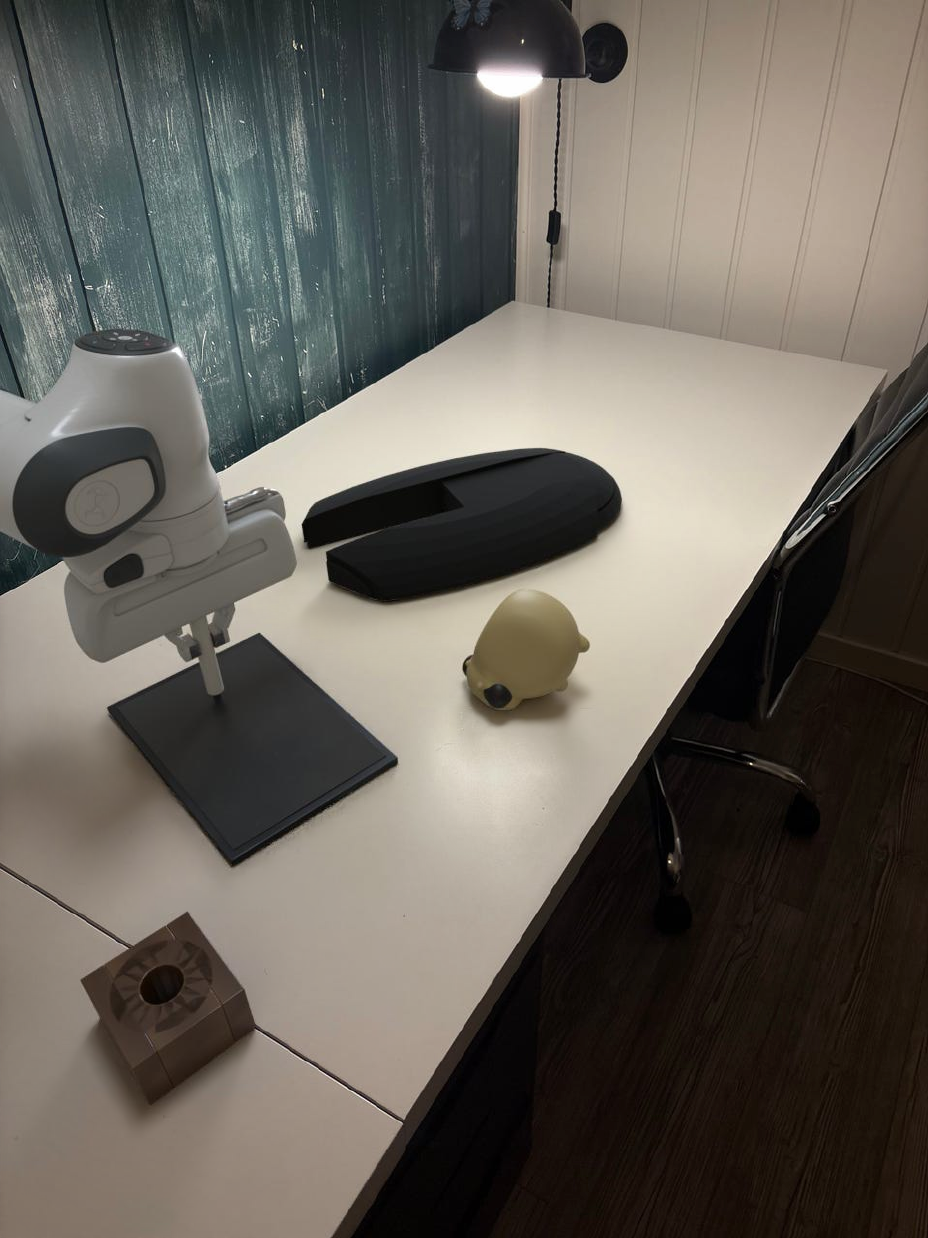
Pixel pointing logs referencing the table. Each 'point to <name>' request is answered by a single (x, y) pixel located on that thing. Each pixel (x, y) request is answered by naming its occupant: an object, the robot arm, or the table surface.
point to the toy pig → (524, 650)
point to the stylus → (207, 657)
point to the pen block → (169, 1005)
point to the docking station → (461, 520)
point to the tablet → (250, 746)
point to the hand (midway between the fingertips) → (204, 649)
